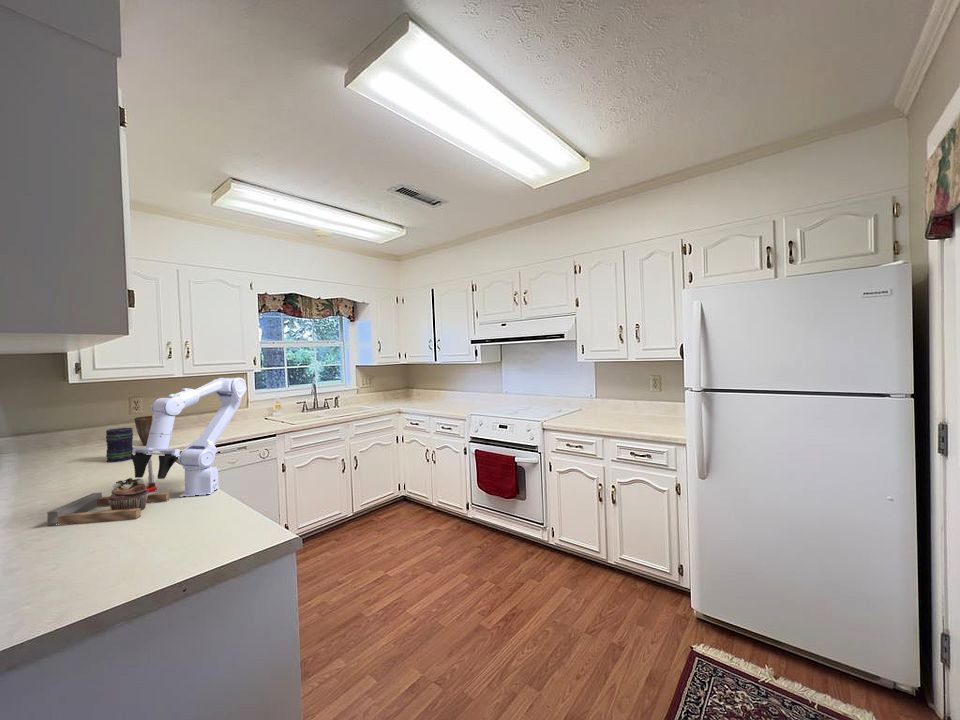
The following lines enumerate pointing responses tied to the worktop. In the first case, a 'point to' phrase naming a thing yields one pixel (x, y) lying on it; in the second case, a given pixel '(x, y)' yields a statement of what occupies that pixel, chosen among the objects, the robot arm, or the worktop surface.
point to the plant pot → (143, 427)
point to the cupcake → (128, 495)
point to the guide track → (78, 508)
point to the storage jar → (119, 444)
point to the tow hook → (150, 478)
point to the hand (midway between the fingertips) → (149, 478)
